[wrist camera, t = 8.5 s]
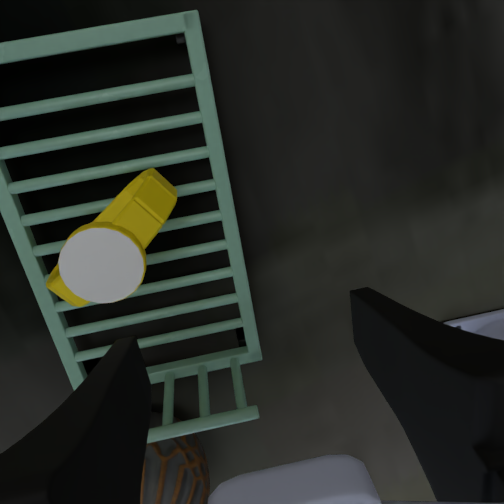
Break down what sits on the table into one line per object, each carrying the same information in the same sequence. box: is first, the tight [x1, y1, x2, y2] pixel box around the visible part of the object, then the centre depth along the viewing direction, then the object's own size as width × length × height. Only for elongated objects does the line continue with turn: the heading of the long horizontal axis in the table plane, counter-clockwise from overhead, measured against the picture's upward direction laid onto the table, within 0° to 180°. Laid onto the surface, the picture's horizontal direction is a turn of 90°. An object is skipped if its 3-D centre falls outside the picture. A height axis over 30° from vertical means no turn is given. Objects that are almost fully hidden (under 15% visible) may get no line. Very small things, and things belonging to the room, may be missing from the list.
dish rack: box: [0, 10, 262, 444], centre depth 20 cm, size 10×17×6 cm, turn 9°
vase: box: [140, 412, 210, 504], centre depth 24 cm, size 7×7×9 cm
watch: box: [46, 168, 177, 307], centre depth 18 cm, size 6×3×6 cm, turn 133°
